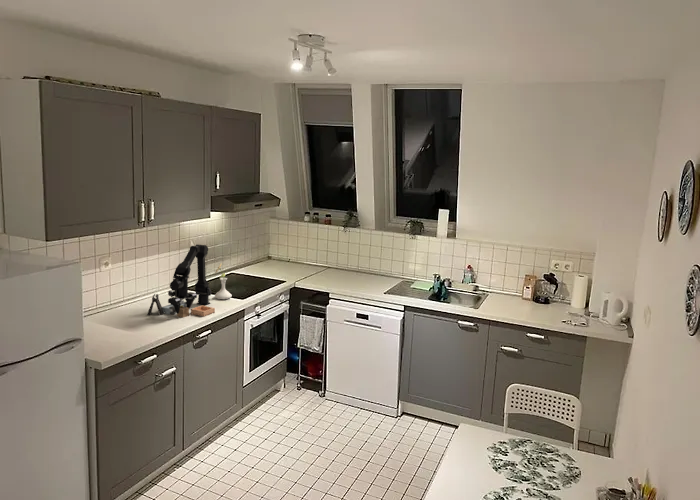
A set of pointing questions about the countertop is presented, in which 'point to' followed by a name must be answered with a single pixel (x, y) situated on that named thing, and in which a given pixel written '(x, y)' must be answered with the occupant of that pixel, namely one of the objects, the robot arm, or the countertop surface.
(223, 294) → the flower in vase
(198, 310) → the open tan box
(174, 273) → the robot arm
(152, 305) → the phone stand
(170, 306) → the dolly
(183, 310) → the taped cardboard box
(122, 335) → the countertop surface
